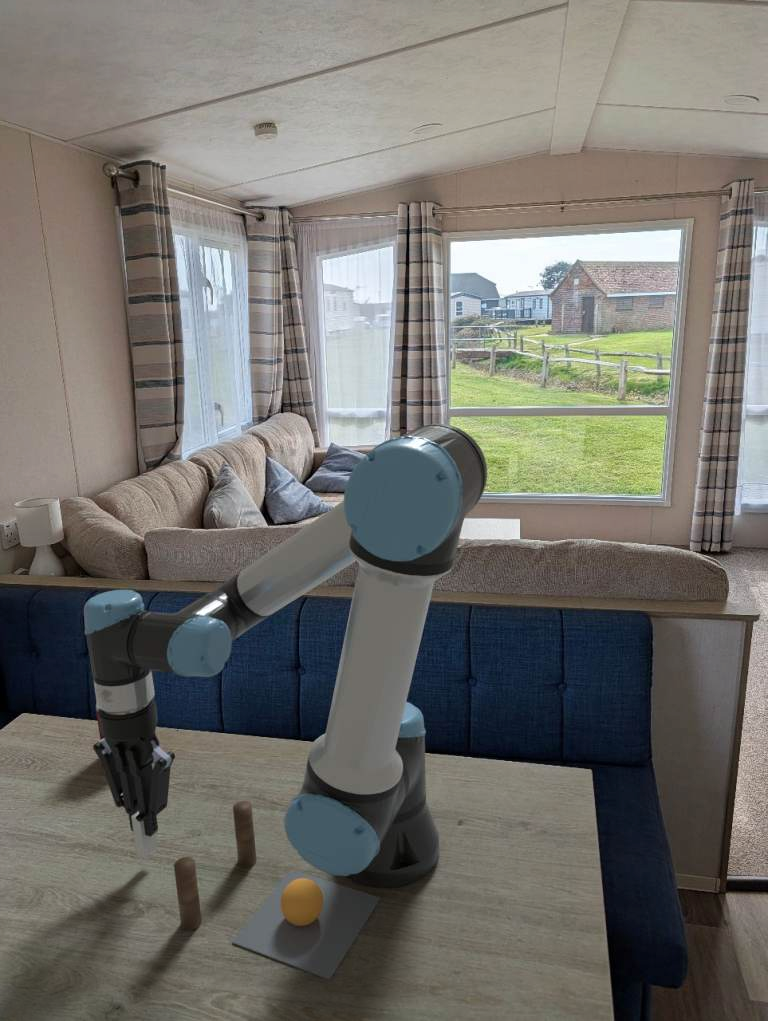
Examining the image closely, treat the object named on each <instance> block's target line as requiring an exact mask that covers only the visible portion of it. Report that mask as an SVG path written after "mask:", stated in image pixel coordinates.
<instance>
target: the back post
mask: <svg viewBox="0 0 768 1021" xmlns="http://www.w3.org/2000/svg"><path fill="white" fill-rule="evenodd" d="M232 806H233V807H232V811H233V823H234V831H235V833H234V834H235V842H236V843H235V844H236V851H237V852H236V853H237V862H238V865H239V866H240V867H243V868H247V867H251V866H253V865H255V864H256V862H257V851H256V850H257V849H256V840H255V830H254V829H255V828H254V819H253V807H252V803H251V802H250V801H247V800H241V801H238V802H236V803H235V804H234V805H232Z"/></svg>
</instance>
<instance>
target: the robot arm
mask: <svg viewBox="0 0 768 1021" xmlns="http://www.w3.org/2000/svg"><path fill="white" fill-rule="evenodd" d="M487 478H488V465H487V461H486V457H485V454H484V452H483V450H482V449H481V446H480V445H479V444H478V442H477V441H476V440H475V439H474V438H473V437H472V436H471V435H470V434H469V433H467V432H465V431H464V430H462V429H460V428H459V427H456V426H453V425H450V424H444V423H429V424H425V425H421V426H419V427H417V428H415V429H413V430H410V431H409V432H407V433H405V434H403V435H402V436H399V437H394V438H390V439H387V440H386V441H385V440H384V442H383V441H382V443H380V444H378V445H377V446H375V447H374V448H372V449H371V450H370V451H368V453H366V455H365V456H364V457H363V458H362V459H361V460H359V462H358V463H357V464H356V466H355V467H354V469H353V470H352V471H351V474H350V475H349V477H348V479H347V481H346V482H347V483H346V485H345V489H344V495H343V500H342V501H341V502H339V503H338V504H337V505H335V506H334V507H332V508H330V509H329V510H328V511H326V512H325V513H323V514H322V515H320V516H319V517H318V518H316V519H314V520H313V521H312V522H310V523H309V524H308V525H306V526H304V527H303V528H301V530H298V531H297V532H296V533H295V534H293V535H292V536H290V537H288V538H287V539H286V540H284V541H283V542H281V543H280V544H278V545H277V546H275V547H274V548H273V549H271V550H269V552H267V553H266V554H264V555H263V556H261V557H259V558H258V559H257V560H255V561H254V562H253V563H250V565H248V566H246V567H245V568H244V569H242V570H241V571H240V572H238V573H236V574H234V576H231V578H229V579H227V580H225V582H223V583H221V584H219V586H217V587H216V588H214V589H213V590H211V591H210V592H208V593H207V594H205V595H203V596H201V597H200V598H198V599H196V600H195V601H193V602H191V603H190V604H189V605H187V606H185V607H183V608H182V609H180V610H179V611H177V612H174V613H167V612H158V611H151V610H145V604H144V603H143V597H142V596H141V594H140V593H138V592H136V591H134V590H132V589H114V590H108V591H105V592H102V593H99V594H97V595H95V596H93V597H91V598H89V599H88V600H87V601H86V602H85V604H84V607H83V617H84V635H85V638H86V643H87V644H86V645H87V650H88V654H89V660H90V666H91V672H92V679H93V686H94V693H95V700H96V703H97V706H98V707H99V710H98V716H99V722H100V729H101V733H102V735H103V736H104V737H105V738H103V739H102V740H100V739H99V741H97V742H96V743H95V744H93V745H92V749H93V751H94V752H95V754H96V755H97V757H98V759H99V760H100V763H101V766H102V769H103V772H104V775H105V778H106V780H107V785H108V786H109V790H110V793H111V795H112V799H113V801H114V804H115V806H116V807H117V808H119V809H120V808H124V811H125V812H126V814H127V815H128V819H129V826H130V830H131V831H132V832H133V838H134V842H135V843H134V846H135V852H136V856H137V857H140V858H143V859H147V858H148V857H149V856H150V855H151V854H152V853H153V852H154V851H156V849H157V848H158V847H159V845H158V844H159V843H158V837H157V832H158V831H159V826H158V817H157V816H158V815H159V814H160V813H161V812H162V811H164V809H165V808H167V807H168V802H169V801H168V800H169V789H170V779H171V778H170V777H171V768H172V767H171V766H172V764H173V762H174V761H175V759H176V754H175V753H174V752H173V751H169V752H168V751H167V752H165V751H164V750H163V749H162V748H161V747H160V740H159V738H158V737H157V734H156V729H157V726H158V721H159V719H158V718H159V717H158V710H157V702H156V699H155V695H156V694H155V687H154V681H153V680H154V679H153V672H160V673H165V674H166V673H167V674H171V675H179V676H182V677H187V678H189V677H201V678H202V677H204V678H209V677H213V676H215V675H218V674H219V673H220V672H221V671H222V670H223V669H224V668H225V663H226V662H228V660H229V658H230V655H231V652H232V642H233V641H235V640H236V639H237V638H239V637H240V636H241V635H242V634H244V633H246V632H247V631H249V630H250V629H251V628H253V627H254V626H256V625H258V624H259V623H261V622H262V621H264V620H266V619H267V618H269V617H270V616H271V615H273V614H275V613H276V612H277V611H279V610H281V609H283V607H285V606H287V605H288V604H291V603H292V602H294V601H295V600H297V599H298V598H300V597H301V596H303V595H304V594H306V593H308V592H309V591H311V590H312V589H314V588H316V587H317V586H319V585H320V584H322V583H323V582H325V581H327V580H329V579H330V578H331V577H333V576H334V575H336V574H338V573H339V572H341V571H342V570H344V569H346V568H347V567H349V566H351V565H352V564H353V563H356V562H357V563H358V567H357V574H356V577H355V578H356V579H355V583H354V587H353V588H354V590H353V593H352V598H351V603H350V609H349V614H348V619H347V622H346V623H347V624H346V628H345V629H346V630H345V634H344V639H343V645H342V648H341V649H342V650H341V655H340V659H339V664H338V668H337V669H338V670H337V674H336V679H335V684H334V690H333V695H332V699H331V700H332V701H331V704H330V711H329V715H328V720H327V725H326V729H325V733H323V734H322V735H320V736H319V737H318V738H316V739H315V740H314V741H313V743H312V744H311V746H310V749H309V752H308V758H307V763H306V767H305V773H304V779H303V782H302V786H301V788H300V790H299V793H298V794H297V795H296V796H294V797H293V798H292V800H290V803H289V805H288V808H287V810H286V812H285V815H284V820H283V823H284V830H285V835H286V837H287V839H288V841H289V843H290V845H291V847H292V848H293V849H294V850H295V851H297V855H299V857H301V859H302V860H304V861H305V862H306V863H307V864H309V865H310V866H311V867H313V868H314V869H317V870H319V871H321V872H324V873H325V874H329V875H332V876H337V877H350V878H351V879H352V880H354V881H357V882H358V883H361V884H363V885H367V886H371V887H376V888H377V887H380V888H394V887H400V886H404V885H407V884H411V883H413V882H416V881H418V880H420V879H422V878H423V877H424V876H426V875H427V874H429V873H430V871H432V870H433V868H434V867H435V865H436V864H437V862H438V860H439V857H440V836H439V835H440V834H439V831H438V829H437V826H436V823H435V821H434V818H433V815H432V813H431V810H430V808H429V805H428V803H427V789H426V788H427V784H426V782H427V778H426V744H425V743H426V740H425V738H426V733H427V731H426V728H425V723H424V722H425V721H424V720H425V719H424V715H423V713H422V711H421V710H420V709H419V708H418V707H416V706H415V705H414V704H412V703H411V702H408V701H407V699H408V696H409V692H410V687H411V685H412V684H411V683H412V679H413V675H414V670H415V666H416V660H417V657H418V653H419V648H420V644H421V641H422V637H423V632H424V627H425V623H426V619H427V614H428V610H429V607H430V602H431V598H432V593H433V589H434V585H435V581H437V580H438V579H440V578H442V577H443V576H445V575H447V574H449V573H450V572H451V570H452V569H453V564H454V562H455V557H456V553H457V549H458V545H459V540H460V536H461V532H462V529H463V524H464V520H465V518H466V516H467V515H469V513H470V512H471V511H472V510H473V508H475V507H476V505H477V504H478V502H479V501H480V500H481V499H482V497H483V494H484V492H485V489H486V486H487V480H488V479H487ZM152 671H153V672H152Z"/></svg>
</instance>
